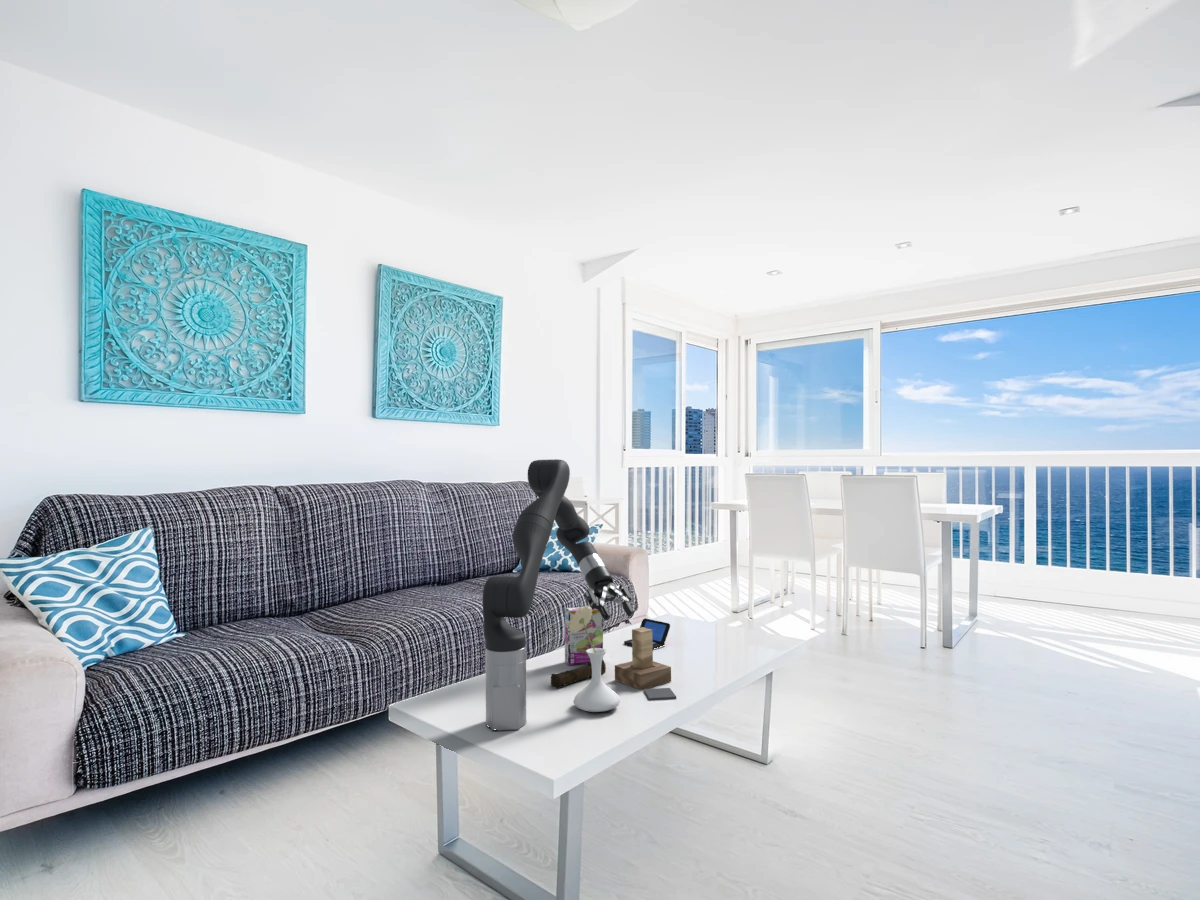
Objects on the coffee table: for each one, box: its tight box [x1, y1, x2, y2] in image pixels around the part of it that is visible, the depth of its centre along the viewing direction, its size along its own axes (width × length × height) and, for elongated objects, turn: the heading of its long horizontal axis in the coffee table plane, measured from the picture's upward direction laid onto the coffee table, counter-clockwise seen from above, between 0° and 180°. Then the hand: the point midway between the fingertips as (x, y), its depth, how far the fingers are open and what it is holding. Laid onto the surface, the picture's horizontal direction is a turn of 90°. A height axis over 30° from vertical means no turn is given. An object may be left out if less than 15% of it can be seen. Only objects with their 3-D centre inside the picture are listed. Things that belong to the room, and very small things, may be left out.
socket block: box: [614, 660, 672, 691], centre depth 175 cm, size 11×11×4 cm
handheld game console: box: [623, 618, 671, 649], centre depth 214 cm, size 12×11×7 cm
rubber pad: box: [643, 687, 677, 701], centre depth 163 cm, size 7×7×1 cm
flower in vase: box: [567, 605, 621, 713], centre depth 154 cm, size 13×11×25 cm
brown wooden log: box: [550, 659, 607, 689], centre depth 176 cm, size 19×4×5 cm, turn 131°
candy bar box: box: [564, 606, 604, 666], centre depth 194 cm, size 11×5×16 cm, turn 108°
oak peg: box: [631, 627, 654, 670], centre depth 175 cm, size 4×4×14 cm
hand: (619, 616), depth 183 cm, fingers open, 8 cm apart
